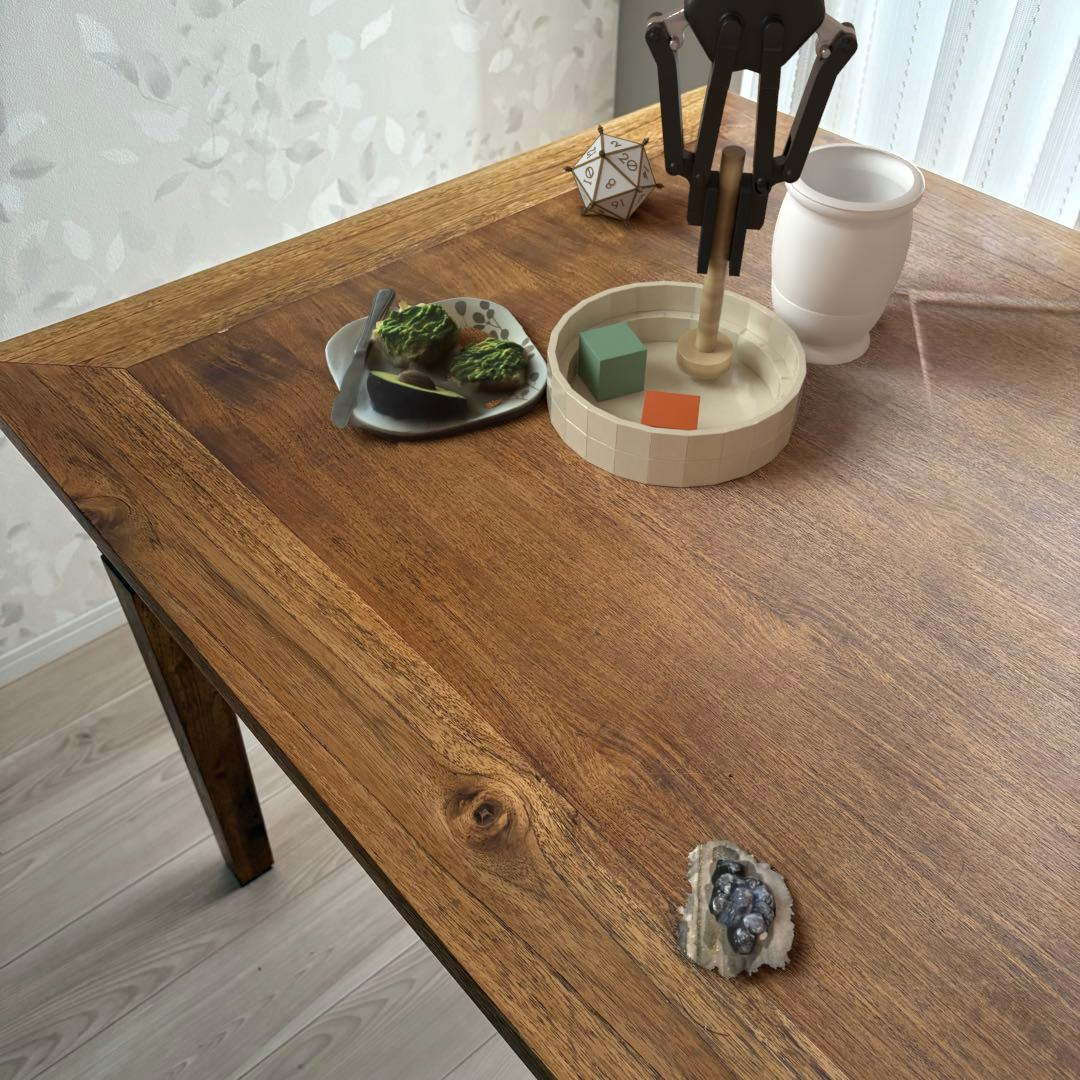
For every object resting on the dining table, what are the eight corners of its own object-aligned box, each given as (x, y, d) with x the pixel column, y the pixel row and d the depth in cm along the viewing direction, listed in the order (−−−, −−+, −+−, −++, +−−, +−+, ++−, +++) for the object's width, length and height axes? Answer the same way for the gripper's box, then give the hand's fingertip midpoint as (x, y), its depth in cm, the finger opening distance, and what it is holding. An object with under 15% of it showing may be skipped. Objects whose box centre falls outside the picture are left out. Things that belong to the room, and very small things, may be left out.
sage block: (644, 390, 88) (647, 349, 85) (597, 402, 87) (600, 360, 84) (622, 362, 90) (625, 321, 87) (577, 373, 89) (578, 332, 86)
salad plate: (292, 324, 95) (284, 277, 91) (491, 285, 99) (489, 239, 96) (344, 468, 82) (337, 419, 79) (569, 415, 86) (571, 367, 83)
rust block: (694, 437, 84) (700, 395, 81) (691, 472, 81) (697, 430, 78) (642, 431, 84) (645, 389, 81) (636, 466, 81) (640, 424, 79)
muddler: (741, 355, 89) (778, 146, 74) (713, 387, 87) (747, 177, 72) (693, 335, 90) (721, 126, 76) (665, 365, 88) (688, 156, 74)
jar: (872, 388, 89) (919, 219, 78) (745, 363, 91) (773, 195, 81) (888, 316, 96) (932, 152, 85) (769, 294, 98) (798, 131, 88)
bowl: (790, 347, 93) (801, 290, 89) (797, 504, 80) (811, 446, 76) (562, 328, 95) (563, 272, 91) (532, 480, 81) (532, 422, 77)
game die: (628, 245, 111) (697, 171, 105) (590, 255, 104) (662, 176, 98) (570, 178, 112) (636, 101, 106) (530, 183, 105) (598, 101, 99)
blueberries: (687, 994, 55) (691, 978, 54) (647, 849, 60) (649, 832, 59) (817, 970, 56) (824, 953, 55) (765, 829, 61) (770, 811, 60)
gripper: (636, -83, 61) (613, 285, 78) (906, -70, 60) (823, 301, 77) (644, -123, 66) (620, 230, 83) (893, -112, 65) (818, 244, 82)
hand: (718, 264), depth 80 cm, fingers closed on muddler, 2 cm apart
